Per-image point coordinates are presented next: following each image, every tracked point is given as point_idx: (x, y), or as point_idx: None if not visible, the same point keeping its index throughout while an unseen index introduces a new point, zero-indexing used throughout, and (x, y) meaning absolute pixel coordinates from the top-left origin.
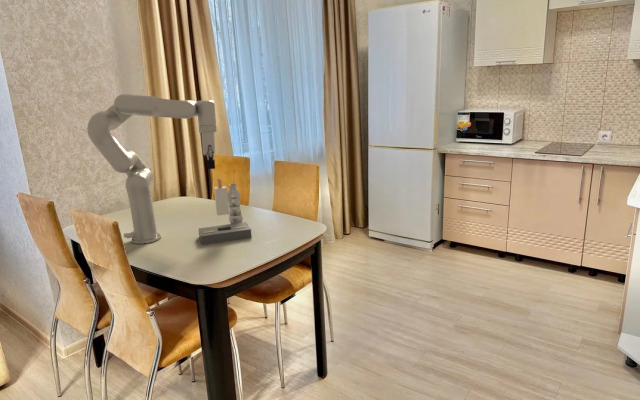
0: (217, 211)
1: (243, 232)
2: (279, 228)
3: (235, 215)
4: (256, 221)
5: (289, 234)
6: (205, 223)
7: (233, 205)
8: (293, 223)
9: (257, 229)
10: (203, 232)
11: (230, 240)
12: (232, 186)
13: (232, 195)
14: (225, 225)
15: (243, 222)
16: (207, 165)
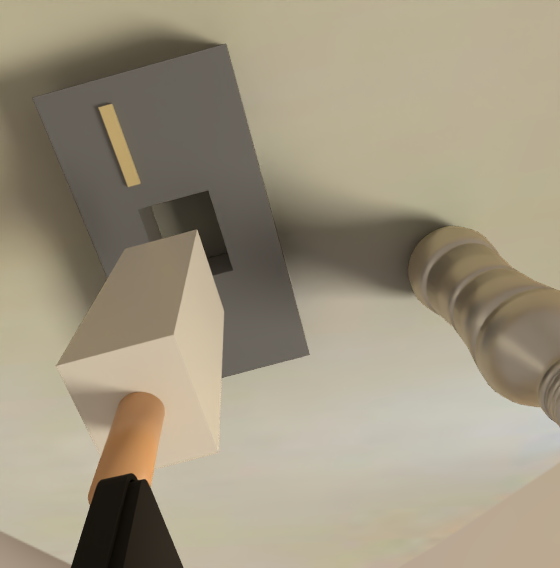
0: (117, 261)
1: None
2: (290, 480)
3: (428, 288)
4: (450, 366)
5: (187, 523)
6: (528, 39)
7: (459, 313)
8: (355, 531)
9: (299, 383)
10: (105, 106)
11: None
12: (556, 405)
13: (491, 355)
14: (261, 237)
15: (301, 341)
16: (78, 553)
